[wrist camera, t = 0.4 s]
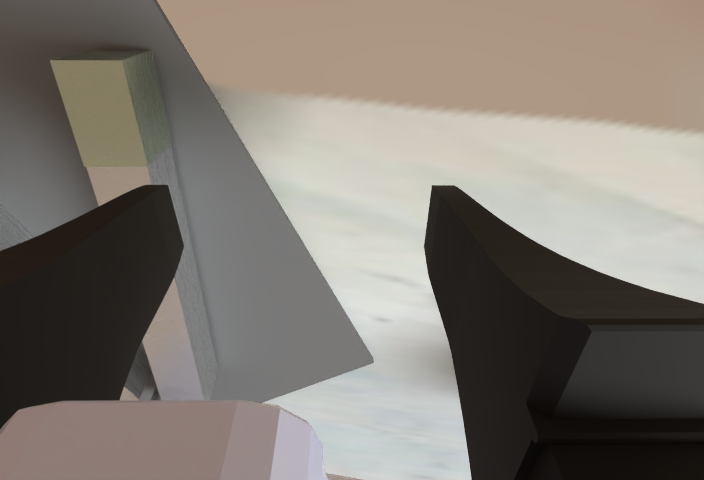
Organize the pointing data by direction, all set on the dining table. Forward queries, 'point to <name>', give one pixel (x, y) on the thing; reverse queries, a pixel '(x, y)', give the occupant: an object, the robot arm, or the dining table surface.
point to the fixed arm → (9, 231)
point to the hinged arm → (132, 172)
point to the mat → (196, 190)
